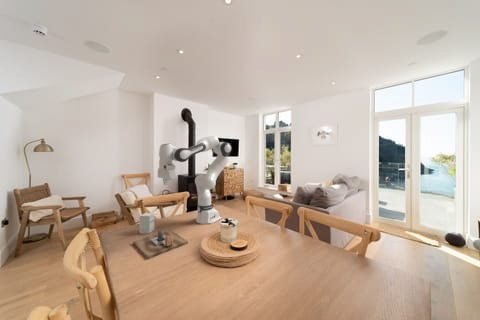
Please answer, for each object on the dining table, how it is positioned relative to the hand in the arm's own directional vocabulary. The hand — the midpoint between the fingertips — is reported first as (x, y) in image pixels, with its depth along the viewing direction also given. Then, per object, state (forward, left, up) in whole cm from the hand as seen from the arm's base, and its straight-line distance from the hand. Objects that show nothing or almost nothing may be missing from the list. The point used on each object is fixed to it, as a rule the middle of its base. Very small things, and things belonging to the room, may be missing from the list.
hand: (165, 184), depth 132 cm
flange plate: (+11, +20, -32) cm, 40 cm away
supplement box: (+10, -8, -34) cm, 37 cm away
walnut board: (+11, +17, -34) cm, 40 cm away
